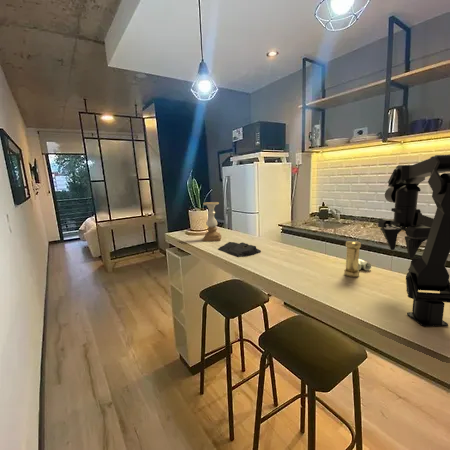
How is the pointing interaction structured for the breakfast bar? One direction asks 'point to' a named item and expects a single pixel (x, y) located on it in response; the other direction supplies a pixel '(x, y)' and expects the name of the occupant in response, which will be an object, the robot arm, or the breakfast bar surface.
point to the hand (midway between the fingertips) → (401, 253)
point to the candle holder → (211, 223)
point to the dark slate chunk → (239, 249)
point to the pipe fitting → (364, 265)
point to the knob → (352, 259)
